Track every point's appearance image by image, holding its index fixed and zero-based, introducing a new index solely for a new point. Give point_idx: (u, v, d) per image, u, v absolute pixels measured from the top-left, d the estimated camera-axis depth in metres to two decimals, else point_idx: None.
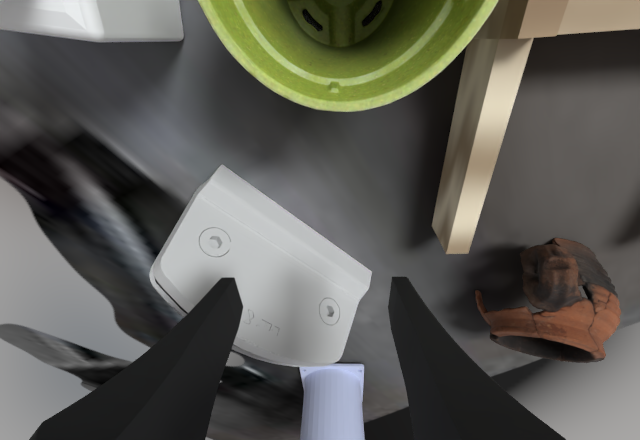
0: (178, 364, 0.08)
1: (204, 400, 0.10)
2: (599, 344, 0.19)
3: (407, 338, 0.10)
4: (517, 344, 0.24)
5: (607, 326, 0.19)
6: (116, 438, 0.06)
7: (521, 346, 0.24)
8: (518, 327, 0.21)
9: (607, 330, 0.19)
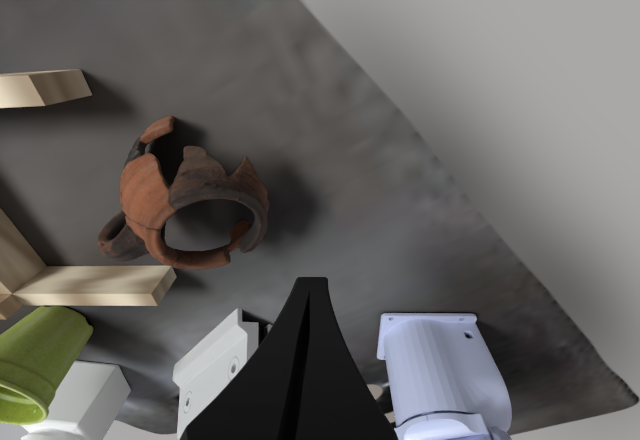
0: (293, 366, 0.08)
1: (301, 402, 0.10)
2: (147, 219, 0.15)
3: None
4: (255, 222, 0.18)
5: (134, 202, 0.15)
6: None
7: (255, 219, 0.18)
8: None
9: (139, 200, 0.15)
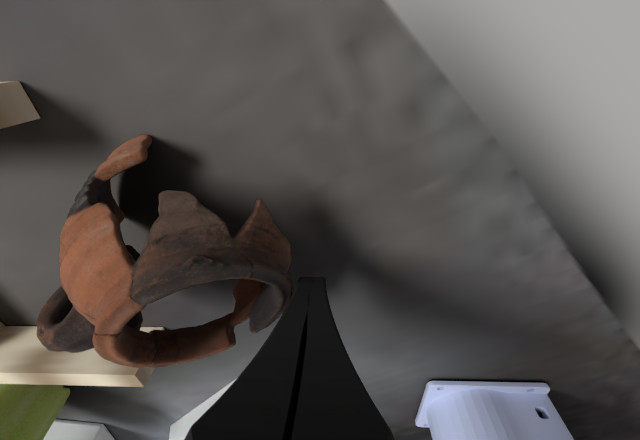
0: (296, 366, 0.08)
1: None
2: (97, 317, 0.09)
3: None
4: (273, 294, 0.12)
5: (77, 286, 0.09)
6: None
7: (274, 291, 0.12)
8: None
9: (84, 284, 0.09)
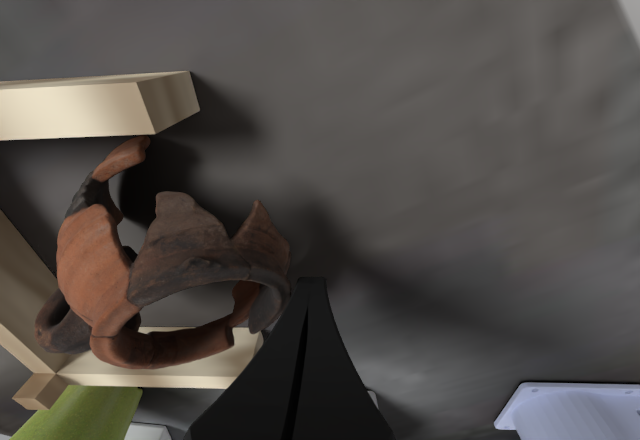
0: (295, 365, 0.08)
1: None
2: (94, 319, 0.09)
3: None
4: (271, 295, 0.12)
5: (74, 288, 0.09)
6: None
7: (273, 292, 0.12)
8: None
9: (81, 286, 0.09)
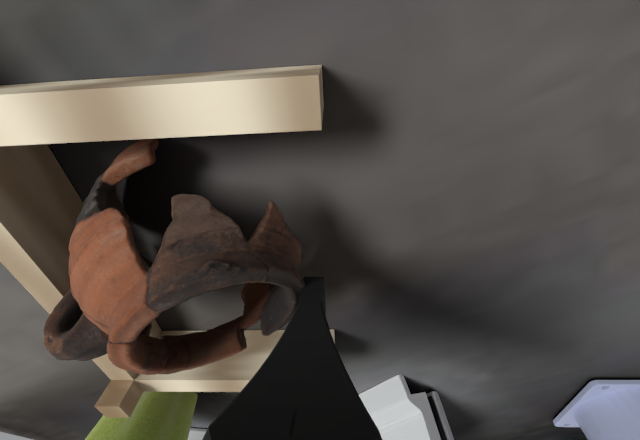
0: (311, 366, 0.08)
1: None
2: (111, 325, 0.09)
3: None
4: (285, 296, 0.12)
5: (89, 294, 0.09)
6: None
7: (287, 293, 0.12)
8: None
9: (97, 292, 0.09)
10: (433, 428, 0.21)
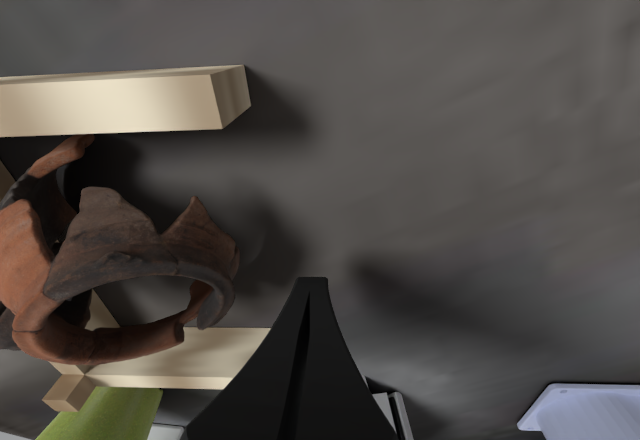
0: (293, 366, 0.08)
1: (301, 403, 0.10)
2: None
3: None
4: (215, 291, 0.12)
5: None
6: None
7: None
8: None
9: (4, 281, 0.09)
10: None
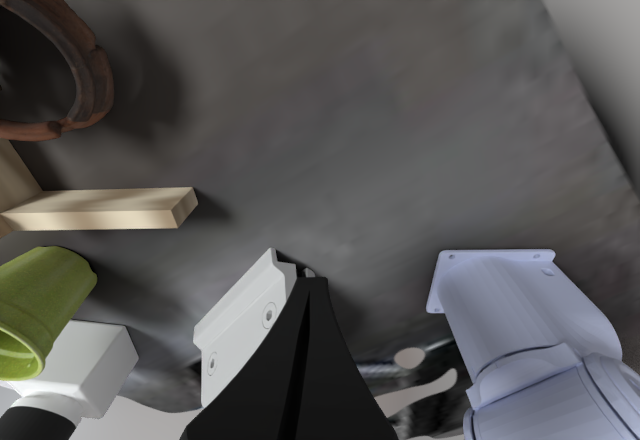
0: (293, 366, 0.08)
1: (301, 403, 0.10)
2: None
3: None
4: None
5: None
6: None
7: None
8: None
9: None
10: (292, 288, 0.23)
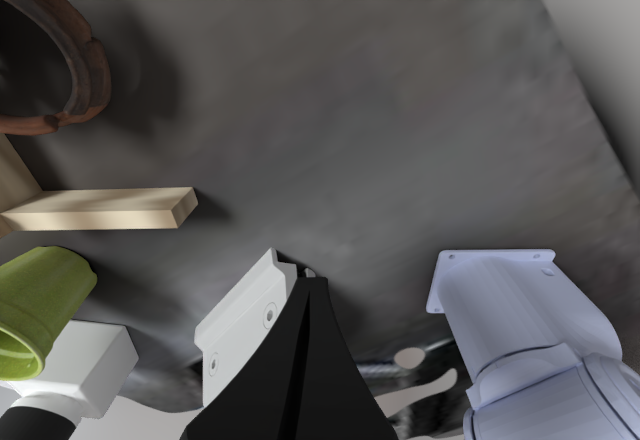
0: (293, 366, 0.08)
1: (301, 403, 0.10)
2: None
3: None
4: None
5: None
6: None
7: None
8: None
9: None
10: None
